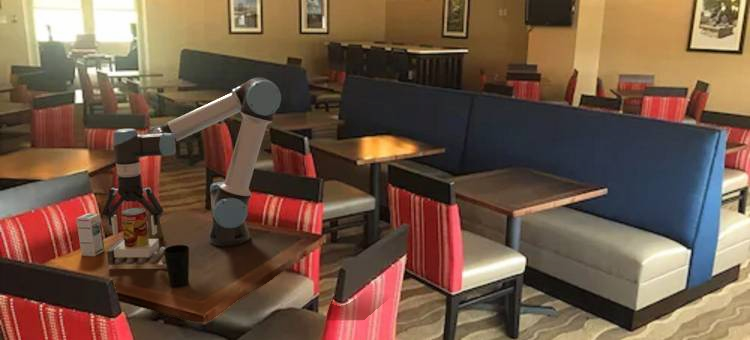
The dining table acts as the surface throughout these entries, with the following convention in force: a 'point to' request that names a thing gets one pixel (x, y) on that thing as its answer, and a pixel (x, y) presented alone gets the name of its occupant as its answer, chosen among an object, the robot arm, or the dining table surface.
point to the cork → (159, 229)
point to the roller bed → (136, 260)
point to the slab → (136, 249)
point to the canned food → (135, 227)
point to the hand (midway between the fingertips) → (135, 233)
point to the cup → (177, 265)
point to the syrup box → (90, 234)
